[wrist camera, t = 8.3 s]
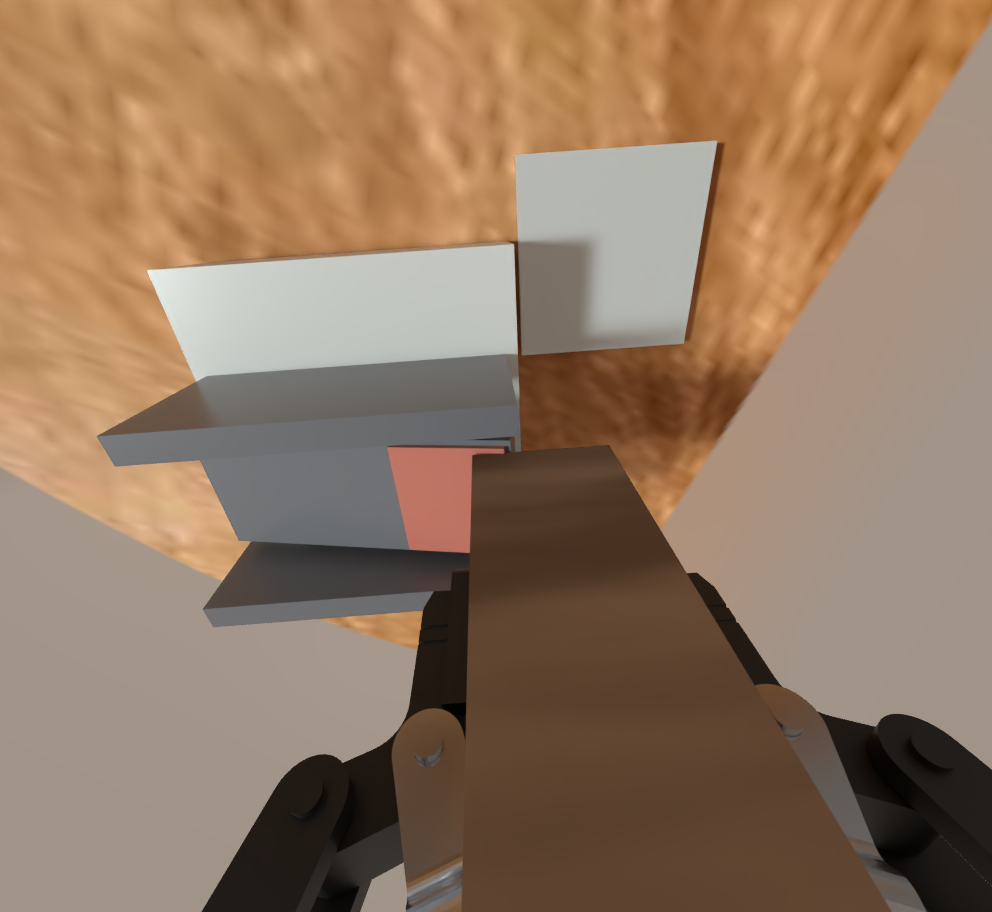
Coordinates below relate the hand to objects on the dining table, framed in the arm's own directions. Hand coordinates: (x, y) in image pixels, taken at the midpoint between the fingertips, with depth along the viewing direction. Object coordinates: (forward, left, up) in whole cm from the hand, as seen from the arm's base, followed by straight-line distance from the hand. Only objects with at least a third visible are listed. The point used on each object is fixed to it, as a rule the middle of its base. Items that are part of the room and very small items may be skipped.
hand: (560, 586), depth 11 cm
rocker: (0, -7, -6) cm, 9 cm away
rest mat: (-7, +4, -12) cm, 15 cm away
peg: (0, 0, -4) cm, 4 cm away
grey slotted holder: (0, -7, -12) cm, 14 cm away
